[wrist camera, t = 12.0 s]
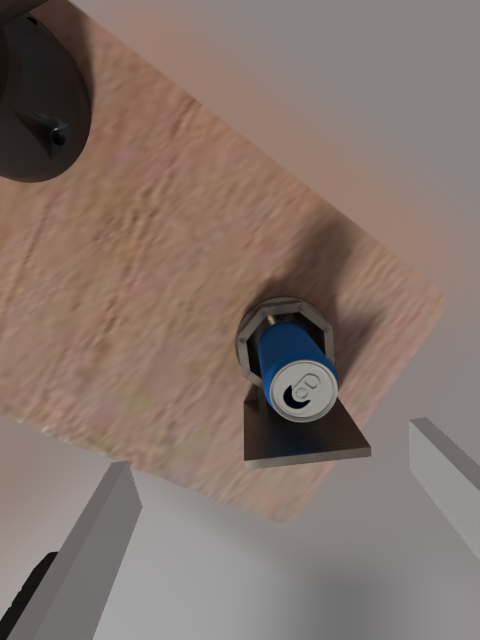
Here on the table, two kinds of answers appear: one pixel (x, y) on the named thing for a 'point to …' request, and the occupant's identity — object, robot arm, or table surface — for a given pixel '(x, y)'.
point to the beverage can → (296, 373)
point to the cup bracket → (265, 422)
